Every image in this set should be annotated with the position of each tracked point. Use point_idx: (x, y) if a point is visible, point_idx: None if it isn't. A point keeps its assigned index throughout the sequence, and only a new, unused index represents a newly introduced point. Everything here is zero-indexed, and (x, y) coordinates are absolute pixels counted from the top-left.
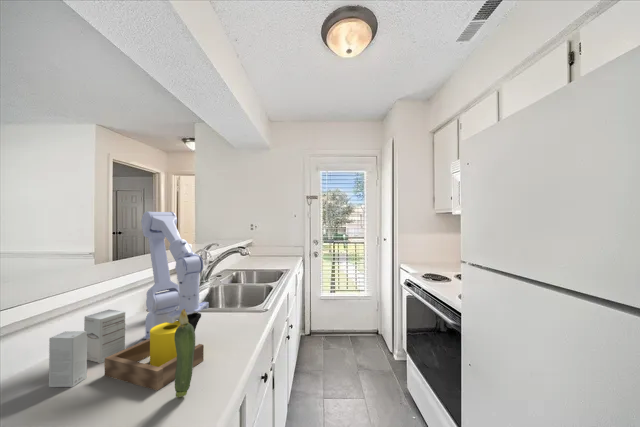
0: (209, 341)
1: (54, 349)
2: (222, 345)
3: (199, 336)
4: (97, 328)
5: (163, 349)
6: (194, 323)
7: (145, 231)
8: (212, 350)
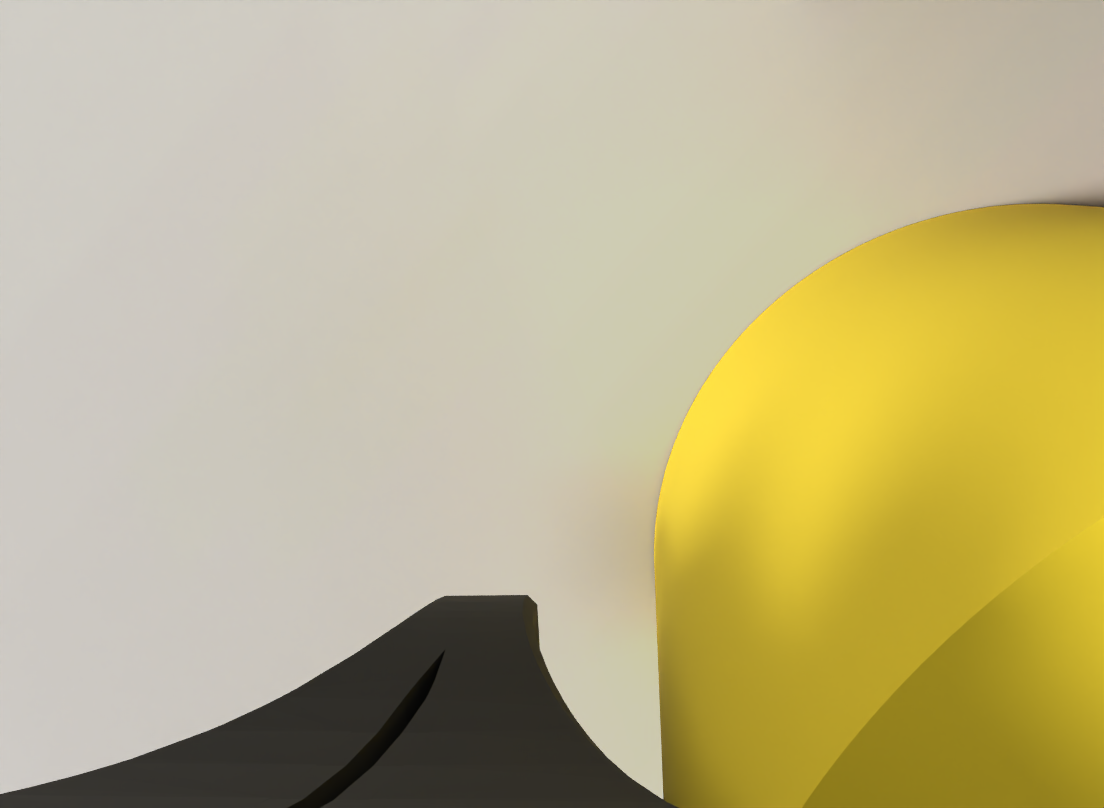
0: (103, 444)
1: None
2: (104, 16)
3: None
4: None
5: None
6: (358, 755)
7: None
8: (372, 49)
